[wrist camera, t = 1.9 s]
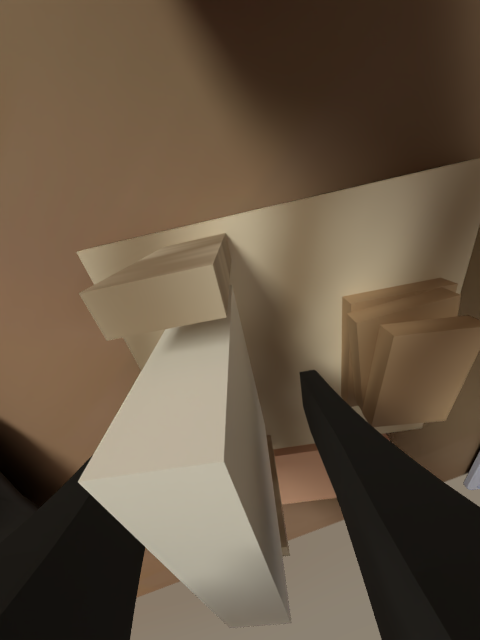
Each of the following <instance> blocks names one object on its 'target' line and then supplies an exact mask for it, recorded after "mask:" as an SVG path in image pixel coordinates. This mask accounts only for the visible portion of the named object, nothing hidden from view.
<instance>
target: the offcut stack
mask: <svg viewBox="0 0 480 640" xmlns="http://www.w3.org/2000/svg"><path fill="white" fill-rule="evenodd" d="M457 286H458V283H455V282H452V281H449V280H446V279H443V278H435V279H430V280H425V281H420V282H415V283H410V284H405V285H399V286H394V287H389V288H384V289H379V290H374V291H368V292H363V293H358V294H353V295H348V296H343V297H342V354H341V397H342V398H343V400H344V401H345V402H346V403H347V404H349V405H350V406H351V407H353V406H359V407H360V409H361V411H362V413H363V415H364V417H365V418H366V420H367V422H368V423H369V424H370V425H371V426H373V427H382V426H393V425H404V424H415V423H426V422H437V421H446V419H447V416H448V414H449V412H450V410H451V408H452V406H453V404H454V402H455V400H456V398H457V396H458V394H459V392H460V390H461V387H462V385H463V383H464V381H465V379H466V377H467V375H468V373H469V371H470V369H471V367H472V365H473V363H474V361H475V358H476V356H477V354H478V352H479V350H480V320H478V319H476V318H474V317H471V316H469V315H466V316H458V311H459V305H460V299H461V294H458V293H456V290H457Z"/></svg>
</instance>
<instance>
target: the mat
mask: <svg viewBox="0 0 480 640" xmlns="http://www.w3.org/2000/svg"><path fill="white" fill-rule="evenodd" d="M382 435H383V436H384V437H385V438H387V439H388V440H389V441H390V439H389V438H388V436H387V435H386V433H385V434H382ZM273 450H274V457H275V463H276V469H277V476H278V482H279V489H280V495H281V502H282V504H290V503H298V502H306V501H314V500H323V499H331V498H337V497H336V494H335V491H334V489H333V486H332V484H331V481H330V479H329V476H328V474H327V472H326V469H325V467H324V464H323V462H322V459H321V457H320V454H319V452H318V449H317V447H316V444H315V443H314V444H307V445H300V446H293V447H286V448H279V449H273Z"/></svg>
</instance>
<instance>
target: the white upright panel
mask: <svg viewBox="0 0 480 640" xmlns="http://www.w3.org/2000/svg"><path fill="white" fill-rule="evenodd" d="M78 483H79V484H80V485H81V486H82V487H83V488H84V489H85V490H87V491H88V492H89V493H90V494H91V495H92V496H93V497H94V498H95V499H96V500H97V501H98V502H99V503H100V504H101V505H102V506H103V507H104V508H105V509H106V510H107V511H108V512H109V513H110V514H112V515H113V516H114V517H115V518H116V519H117V520H118V521H119V522H120V523H121V524H122V525H123V526H124V527H125V528H126V529H127V530H128V531H129V532H130V533H131V534H132V535H133V536H134V537H135V538H136V539H138V540H139V541H140V542H141V543H142V544H143V545H144V546H145V547H146V548H147V549H148V550H149V551H150V552H151V553H152V554H153V555H154V556H155V557H156V558H157V559H158V560H159V561H160V562H161V563H162V564H164V565H165V566H166V567H167V568H168V569H169V570H170V571H171V572H172V573H173V574H174V575H175V576H176V577H177V578H178V579H179V580H180V581H181V582H182V583H183V584H184V585H185V586H187V588H189V589H190V590H191V591H192V592H193V593H194V594H195V595H196V596H197V597H198V598H199V599H200V600H201V601H202V602H203V603H204V604H205V605H206V606H207V607H208V608H209V609H210V610H211V611H212V612H213V613H215V614H216V615H217V616H218V617H219V618H220V619H221V620H222V621H223V622H224V623H225V624H226V625H227V626H228V627H229V628H236V627H250V626H263V625H276V624H288V623H291V617H290V609H289V601H288V594H287V586H286V579H285V571H284V564H283V556H282V549H281V541H280V534H279V527H278V519H277V512H276V504H275V497H274V489H273V482H272V474H271V467H270V459H269V452H268V445H267V437H266V430H265V423H264V419H263V415H262V411H261V406H260V402H259V398H258V394H257V389H256V385H255V381H254V376H253V372H252V368H251V364H250V359H249V355H248V351H247V347H246V342H245V338H244V334H243V329H242V325H241V321H240V317H239V312H238V308H237V304H236V300H235V295H234V291H233V287H232V285H229V295H228V307H227V317H226V318H221V319H216V320H211V321H205V322H200V323H195V324H190V325H185V326H180V327H175V328H169V329H165V331H164V333H163V334H162V336H161V338H160V340H159V341H158V343H157V345H156V347H155V348H154V350H153V352H152V354H151V355H150V357H149V359H148V361H147V362H146V364H145V366H144V367H143V369H142V371H141V373H140V374H139V376H138V378H137V380H136V381H135V383H134V385H133V387H132V388H131V390H130V392H129V394H128V395H127V397H126V399H125V400H124V402H123V404H122V406H121V407H120V409H119V411H118V413H117V414H116V416H115V418H114V420H113V421H112V423H111V425H110V427H109V428H108V430H107V432H106V433H105V435H104V437H103V439H102V440H101V442H100V444H99V446H98V447H97V449H96V451H95V453H94V454H93V456H92V458H91V460H90V461H89V463H88V465H87V466H86V468H85V470H84V472H83V473H82V475H81V477H80V479H79V480H78Z"/></svg>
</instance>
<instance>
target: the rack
mask: <svg viewBox="0 0 480 640" xmlns="http://www.w3.org/2000/svg"><path fill="white" fill-rule="evenodd" d="M479 225H480V158H477V159H472V160H467V161H463V162H459V163H455V164H450V165H446V166H442V167H437V168H433V169H429V170H424V171H420V172H416V173H411V174H407V175H403V176H399V177H394V178H390V179H386V180H381V181H377V182H373V183H368V184H364V185H360V186H355V187H351V188H347V189H343V190H338V191H334V192H330V193H325V194H321V195H317V196H312V197H308V198H304V199H299V200H295V201H291V202H287V203H282V204H278V205H274V206H269V207H265V208H261V209H256V210H252V211H248V212H243V213H239V214H235V215H231V216H226V217H222V218H218V219H213V220H209V221H205V222H200V223H196V224H192V225H187V226H183V227H179V228H175V229H170V230H166V231H162V232H157V233H153V234H149V235H144V236H140V237H136V238H131V239H127V240H123V241H119V242H114V243H110V244H106V245H101V246H97V247H93V248H89V249H85V250H82V251H78V252H77V254H78V256H79V258H80V259H81V261H82V263H83V265H84V267H85V269H86V270H87V272H88V274H89V276H90V278H91V280H92V282H93V283H94V285H93V286H91V287H89V288H88V289H86V290H84V291H82V292H80V293H79V294H80V296H81V298H82V300H83V301H84V303H85V305H86V306H87V308H88V310H89V311H90V313H91V315H92V317H93V318H94V320H95V322H96V323H97V325H98V327H99V328H100V330H101V332H102V334H103V335H104V337H105V339H106V340H107V341H108V340H113V339H118V338H123V339H124V340H125V342H126V344H127V346H128V348H129V350H130V352H131V353H132V355H133V357H134V359H135V361H136V363H137V364H138V366H139V368H140V370H141V371H142V369H143V367H144V366H145V364H146V362H147V361H148V359H149V357H150V355H151V354H152V352H153V350H154V348H155V347H156V345H157V343H158V341H159V340H160V338H161V336H162V334H163V333H164V331H165V329H169V328H175V327H180V326H185V325H190V324H195V323H200V322H205V321H211V320H216V319H221V318H226V317H227V307H228V295H229V285H232V287H233V291H234V295H235V300H236V304H237V308H238V312H239V317H240V321H241V325H242V329H243V334H244V338H245V342H246V347H247V351H248V355H249V359H250V364H251V368H252V372H253V376H254V381H255V385H256V389H257V394H258V398H259V402H260V406H261V411H262V415H263V419H264V423H265V430H266V437H267V445H268V452H269V459H270V467H271V474H272V482H273V489H274V497H275V504H276V512H277V519H278V527H279V534H280V541H281V549H282V556H290V553H289V546H288V540H287V534H286V527H285V521H284V514H283V508H282V502H281V495H280V489H279V482H278V476H277V469H276V463H275V457H274V450H273V449H279V448H286V447H293V446H300V445H307V444H314V443H315V442H314V439H313V437H312V434H311V432H310V429H309V425H308V422H307V419H306V415H305V412H304V408H303V402H302V393H301V383H300V373H299V372H303V371H309V370H316V371H317V372H318V373H319V374H320V375H321V377H322V378H323V379H324V380H325V381H326V382H327V383H328V384H329V385H330V386H331V387H332V388H333V390H334V391H335V392H336V393H337V394H338V395H339V396H340V397H341V354H342V297H343V296H348V295H353V294H358V293H363V292H368V291H374V290H379V289H384V288H389V287H394V286H399V285H405V284H410V283H415V282H420V281H425V280H430V279H435V278H443V279H446V280H449V281H452V282H455V283H458V286H457V290H456V293H458V294H460V292H461V289H462V285H463V282H464V278H465V275H466V271H467V268H468V264H469V261H470V257H471V254H472V250H473V247H474V243H475V240H476V236H477V232H478V229H479ZM341 398H342V397H341ZM342 399H343V398H342ZM352 408H353V409H354V410H355V411H356V412H357V413H358V414H359V415H360V416H361V417H362V418H364V419H365V420H366V418H365V417H364V415H363V413H362V411H361V409H360V407H359V406H353V407H352ZM366 421H367V420H366ZM422 427H423V423H415V424H404V425H393V426H382V427H374V428H375V429H376V430H377V431H378V432H379V433H381V434H385V433H392V432H399V431H406V430H413V429H420V428H422Z"/></svg>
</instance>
